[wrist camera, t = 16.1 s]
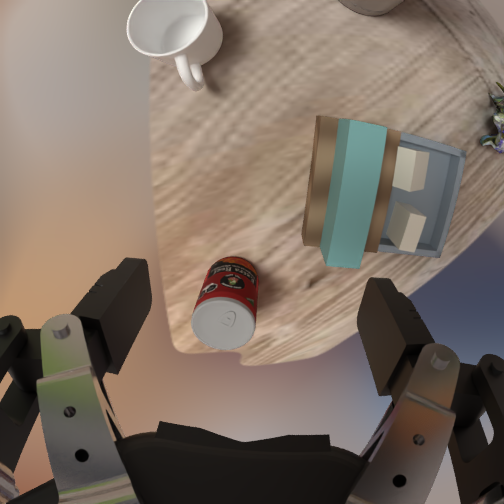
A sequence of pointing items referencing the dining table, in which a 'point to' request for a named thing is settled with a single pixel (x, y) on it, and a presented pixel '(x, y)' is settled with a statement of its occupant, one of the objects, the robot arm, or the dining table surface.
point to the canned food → (227, 305)
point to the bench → (322, 180)
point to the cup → (176, 35)
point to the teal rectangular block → (352, 192)
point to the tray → (429, 196)
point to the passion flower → (500, 140)
